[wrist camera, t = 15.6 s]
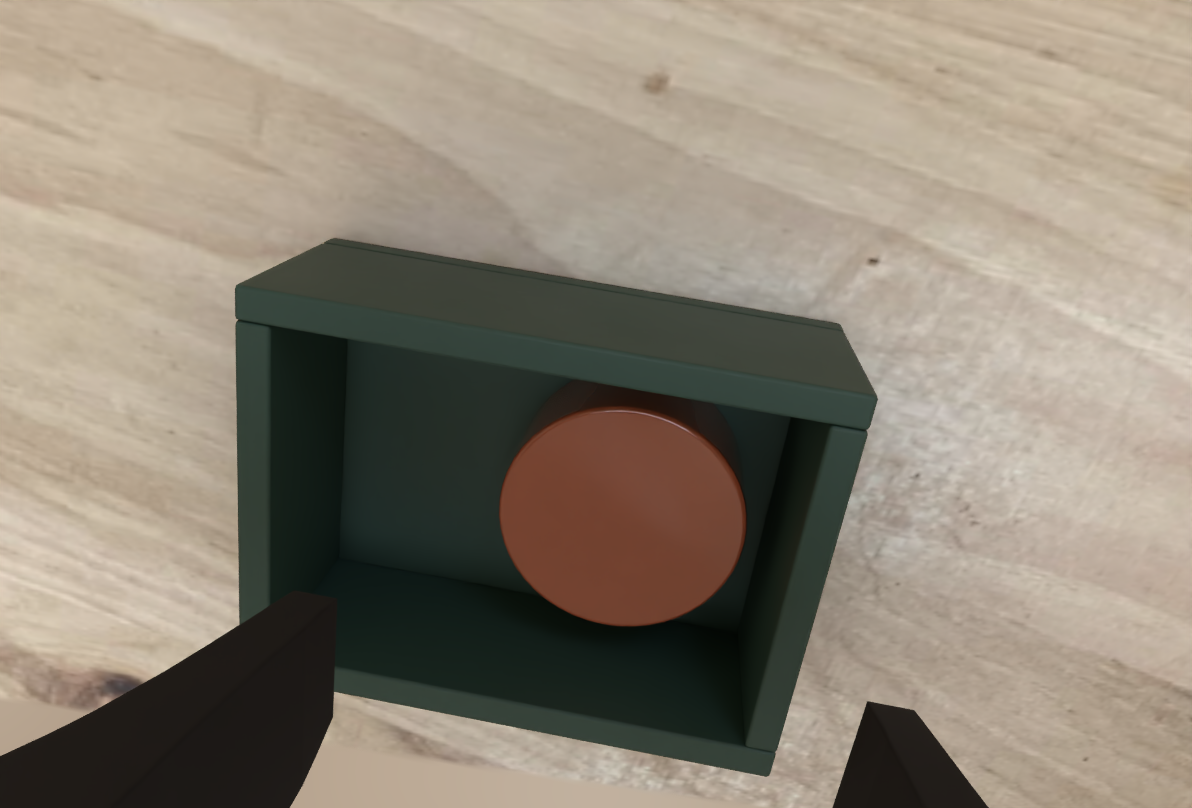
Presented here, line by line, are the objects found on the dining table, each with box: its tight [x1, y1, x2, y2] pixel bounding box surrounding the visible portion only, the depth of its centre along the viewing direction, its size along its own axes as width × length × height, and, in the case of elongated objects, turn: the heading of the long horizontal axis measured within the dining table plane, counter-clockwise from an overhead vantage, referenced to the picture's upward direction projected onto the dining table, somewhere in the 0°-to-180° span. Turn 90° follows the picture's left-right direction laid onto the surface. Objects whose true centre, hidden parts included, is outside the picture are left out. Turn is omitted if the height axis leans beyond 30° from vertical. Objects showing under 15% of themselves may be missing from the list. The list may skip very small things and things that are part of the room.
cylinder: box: [499, 379, 747, 627], centre depth 17 cm, size 5×5×2 cm
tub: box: [235, 238, 878, 777], centre depth 17 cm, size 8×10×4 cm
